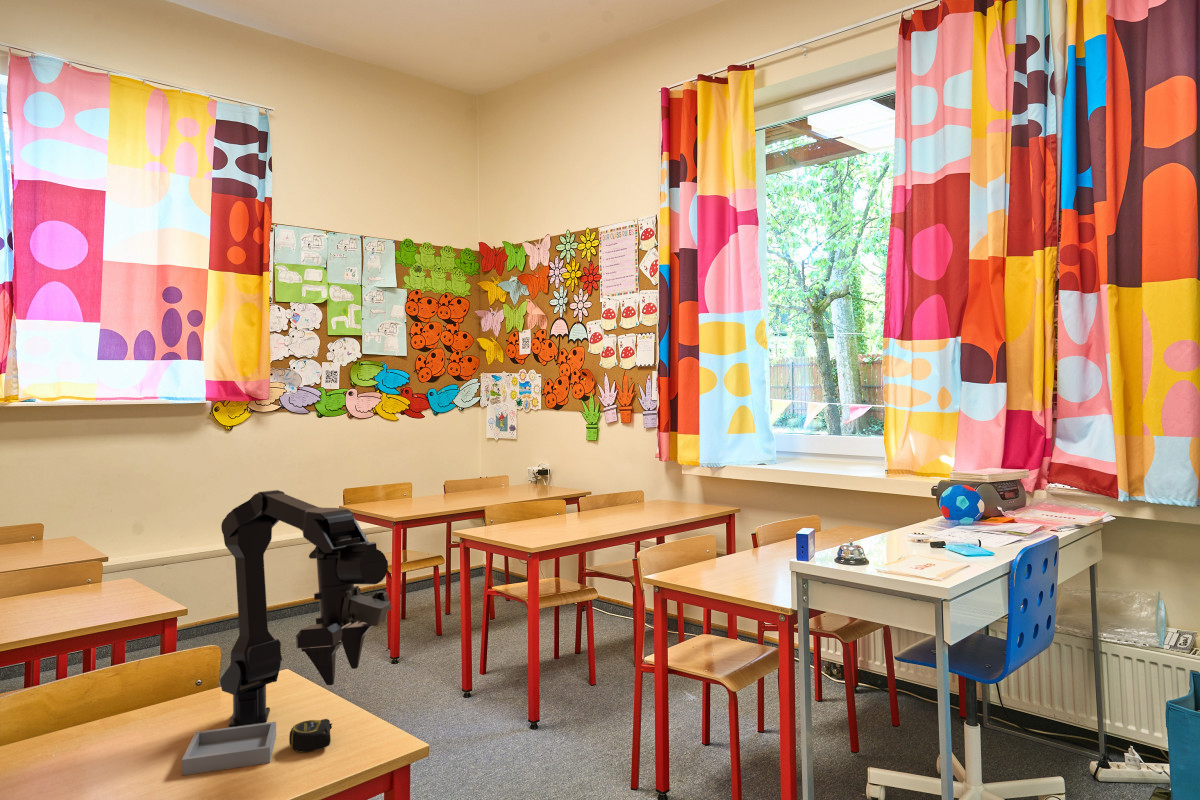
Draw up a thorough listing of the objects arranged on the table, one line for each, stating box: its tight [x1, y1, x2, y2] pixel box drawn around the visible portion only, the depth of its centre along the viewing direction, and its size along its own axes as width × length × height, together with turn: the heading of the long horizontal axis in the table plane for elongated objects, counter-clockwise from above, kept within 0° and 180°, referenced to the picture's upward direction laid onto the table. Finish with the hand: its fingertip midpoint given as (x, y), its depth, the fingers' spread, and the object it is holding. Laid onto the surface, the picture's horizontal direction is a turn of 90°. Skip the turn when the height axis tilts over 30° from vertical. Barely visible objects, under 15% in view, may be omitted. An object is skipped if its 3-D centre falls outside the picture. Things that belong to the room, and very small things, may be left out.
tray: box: [181, 721, 277, 776], centre depth 127 cm, size 11×13×2 cm
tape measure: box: [288, 718, 333, 753], centre depth 129 cm, size 7×7×4 cm
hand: (343, 676), depth 126 cm, fingers open, 9 cm apart
